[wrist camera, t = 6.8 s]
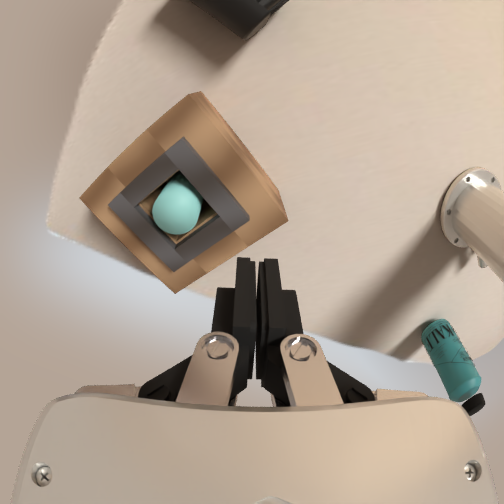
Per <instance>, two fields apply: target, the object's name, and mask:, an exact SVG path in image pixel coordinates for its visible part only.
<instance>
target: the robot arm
mask: <svg viewBox="0 0 504 504" xmlns="http://www.w3.org/2000/svg"><path fill="white" fill-rule="evenodd" d="M441 227H442V231H443V233H444V235H445V237H446V238H447V239H448V240H449V241H450V242H451V243H452V244H453V245H455V246H457V247H470V248H471V249H472V250H473V251H474V252H475V253H476V254H477V255H478V256H477V258H478V265H479V267H481V268H485V267H487V266H489V267H490V268H491V270H492V271H493V272H494V273H495V274H496V275H497V276H498V277H499V278H500V279H501V281H502V282H503V283H504V192H503V191H502V190H501V186H500V183H499V181H498V179H497V177H496V176H495V175H494V174H493V173H492V172H490V171H489V170H487V169H485V168H480V167H476V168H471V169H468V170H466V171H465V172H463V173H462V174H461V175H460V176H458V177H457V178H456V180H455V181H454V182H453V183H452V185H451V186H450V188H449V190H448V191H447V193H446V196H445V198H444V201H443V205H442V209H441ZM255 341H256V379H261V387H264V388H265V389H266V390H267V391H269V392H270V393H271V400H272V404H273V407H240V406H236V401H237V394H239V393H240V392H241V391H243V390H244V389H245V388H246V387H247V379H252V372H253V363H254V351H255ZM11 504H499V503H498V498H497V493H496V488H495V484H494V480H493V477H492V473H491V469H490V466H489V463H488V459H487V456H486V453H485V450H484V447H483V444H482V442H481V439H480V437H479V434H478V432H477V430H476V427H475V425H474V423H473V422H472V420H471V418H470V416H469V415H468V413H467V412H466V410H465V409H464V408H463V407H462V406H461V405H459V404H458V403H456V402H453V401H451V400H447V399H443V398H438V397H429V396H427V395H426V394H424V393H421V392H413V391H398V390H385V389H377V390H376V391H371V390H370V389H369V388H368V387H367V386H366V385H364V384H362V383H361V382H359V381H358V380H356V379H354V378H353V377H351V376H349V375H348V374H347V373H345V372H343V371H342V370H340V369H339V368H337V367H336V366H334V365H332V364H331V363H329V362H328V361H326V358H325V356H324V353H323V351H322V349H321V346H320V345H319V343H318V342H317V341H316V340H315V339H314V338H312V337H310V336H308V335H304V334H303V329H302V323H301V317H300V312H299V306H298V301H297V295H296V291H295V290H282V288H281V280H280V272H279V265H278V259H267V258H265V259H264V262H259V270H258V283H257V296H256V272H255V261H250V258H242V257H237V269H236V284H235V288H220V287H218V288H217V293H216V301H215V308H214V316H213V324H212V331H211V333H208V334H206V335H204V336H203V337H201V338H200V340H199V341H198V343H197V345H196V348H195V350H194V353H193V355H192V356H190V357H188V358H187V359H185V360H183V361H182V362H180V363H179V364H177V365H175V366H173V367H172V368H170V369H168V370H167V371H165V372H163V373H162V374H160V375H158V376H157V377H155V378H153V379H151V380H150V381H148V382H146V383H145V384H144V385H143V386H141V387H135V385H134V384H129V385H97V386H96V385H95V386H84V387H81V388H80V389H78V390H77V391H76V392H75V393H74V394H70V395H65V396H62V397H59V398H56V399H54V400H52V401H51V402H50V403H48V404H47V405H46V406H45V408H44V409H43V411H42V412H41V413H40V415H39V417H38V419H37V420H36V422H35V424H34V427H33V429H32V431H31V433H30V436H29V438H28V441H27V444H26V447H25V449H24V452H23V455H22V459H21V462H20V466H19V469H18V473H17V477H16V481H15V485H14V489H13V493H12V498H11Z"/></svg>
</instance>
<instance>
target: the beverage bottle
mask: <svg viewBox="0 0 504 504" xmlns="http://www.w3.org/2000/svg"><path fill="white" fill-rule="evenodd" d="M456 334H457V333H455V331H454V328H453V329H452V327H451V325H450V323H449V322H448V321H447V320H445V319H439V320H436V321H434V322H433V323H431V324H430V325H429V326H427V327H426V329H425V330H424V331H423V333H422V336H421V338H422V342H423V343H422V344H423V345H424V346H425V348H426V352H428V353H427V354H429V356H430V358H431V360H432V362H433V364H434V366H435V368H436V369H437V371H438V373H439V376H440V378H441V380H442V382H443V384H444V386H445V388H446V391H447V393H448V395H449V398H450V400H451V401H455V402H462V401H464V400H467V399H468V398H470V397H471V396H472V395H474V394H475V393H476V392H477V391H478V389H479V386H480V383H481V377H480V376H479V374H478V372H477V370H476V368H475V366H474V364H473V362H472V361H471V360H472V359H471V358H470V357H469V355H468V352H466V350H465V347H464V346H463V345H462V343H461V341H460V339H459V338H458V337H457V335H456ZM484 405H485V400H484V398H483V395H482V393H479V394H476V395H474V396H473V397H471V398H470V399H468V400H467V401H466V402H464V403H463V404H462V407H463V408H464V409H465V410H466V412H467V413H468V415H469V416H471V415H473V414H475V413H477V412H478V411H479V410H481V409H482V408H483V407H484Z"/></svg>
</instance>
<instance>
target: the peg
mask: <svg viewBox="0 0 504 504" xmlns="http://www.w3.org/2000/svg"><path fill="white" fill-rule="evenodd" d="M203 199H204V198H203V197H202V195H201V194H200V193H199V192H198V191H197V190H196V189H195V187H194V186H193V185H192V184H191V183H190V182H189V180H188V179H187V178H186V177H185V176H184V175H183V174H182V172H181V171H180V170H179V171H177V172H176V173H175V174H174V175H173V176H171V178H170V179H169V181H168V182H167V184H166V185H165V187H164V188H163V190H162V192H161V193H160V195H159V196H158V198H157V199H156V201H155V203H154V205H153V210H152V214H153V218H154V221H155V223H156V224H157V225H158V227H159V228H161V229H162V230H163V231H165V232H167V233H170V234H175V235H179V234H184V233H187V232H189V231H190V230H191V229H193V227H194V226H195V225H196V223H197V220H198V217H199V213H200V210H201V206H202V203H203Z"/></svg>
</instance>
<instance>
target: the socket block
mask: <svg viewBox="0 0 504 504" xmlns="http://www.w3.org/2000/svg"><path fill="white" fill-rule="evenodd" d="M179 170H180V171H181V172H182V174H183V175H184V176H185V177H186V178H187V179H188V180H189V182H190V183H191V184H192V185H193V186H194V187H195V189H196V190H197V191H198V192H199V193H200V194H201V195H202V197H203V198H204V199H203V203H202V206H201V210H200V213H199V217H198V220H197V223H196V225H195V226H194V227H193V229H191V230H190V231H189V232H187V233H184V234H179V235H175V234H170V233H167V232H165V231H163V230H162V229H161V228H159V227H158V225H157V224H156V223H155V221H154V218H153V214H152V210H153V205H154V203H155V201H156V199H157V198H158V196H159V195H160V193H161V192H162V190H163V188H164V187H165V185H166V184H167V183H166V181H167V180H168V179H169V178H170V177H171V176H173V175H174V174H175V173H176V172H177V171H179ZM80 199H81V200H82V201H83V203H84V204H85V205H86V206H87V207H88V208H89V209H90V210H91V211H92V212H93V213H94V214H95V216H96V217H97V218H98V219H99V220H100V221H101V222H102V223H103V224H104V225H105V226H106V227H107V228H108V229H109V230H110V231H111V232H112V233H113V234H114V235H115V236H116V237H117V238H118V239H119V240H120V241H121V242H122V243H123V244H124V245H125V246H126V247H127V248H128V249H129V250H130V251H131V252H132V253H133V254H134V255H135V256H136V257H137V258H138V259H139V260H140V261H141V262H142V263H143V264H144V265H145V266H146V267H147V268H148V269H149V270H150V271H151V272H152V273H153V274H154V275H155V276H156V277H157V278H159V279H160V280H161V281H162V282H163V283H164V284H165V285H166V286H167V287H168V288H169V289H171V290H172V291H173V292H174V293H175V294H176V293H177V292H179V291H180V290H182V289H183V288H185V287H186V286H188V285H190V284H191V283H193V282H194V281H196V280H197V279H199V278H200V277H202V276H203V275H205V274H207V273H208V272H210V271H211V270H213V269H214V268H216V267H217V266H219V265H220V264H222V263H224V262H225V261H227V260H228V259H230V258H231V257H233V256H234V255H236V254H238V253H239V252H241V251H242V250H244V249H245V248H247V247H248V246H250V245H252V244H253V243H255V242H256V241H258V240H259V239H261V238H262V237H264V236H266V235H267V234H269V233H270V232H272V231H273V230H275V229H276V228H278V227H280V226H281V225H283V224H284V223H286V222H287V221H288V218H287V215H286V212H285V209H284V206H283V203H282V200H281V197H280V194H279V191H278V189H277V188H276V186H275V185H274V183H273V182H272V181H271V179H270V178H269V177H268V175H267V174H266V173H265V171H264V170H263V169H262V167H261V166H260V165H259V163H258V162H257V161H256V160H255V158H254V157H253V156H252V154H251V153H250V152H249V150H248V149H247V148H246V147H245V145H244V144H243V143H242V141H241V140H240V139H239V138H238V136H237V135H236V134H235V132H234V131H233V130H232V129H231V127H230V126H229V125H228V124H227V122H226V121H225V120H224V119H223V117H222V116H221V115H220V114H219V112H218V111H217V110H216V109H215V108H214V106H213V105H212V104H211V103H210V101H209V100H208V99H207V98H206V97H205V95H204V94H203V93H202V92H201V91H200V92H196V93H192V94H188V95H187V96H186V97H185V98H183V99H182V100H181V101H180V102H178V103H177V104H176V105H175V106H173V107H172V108H171V109H170V110H169V111H167V112H166V113H165V114H164V115H163V116H162V117H160V118H159V119H158V120H157V121H156V122H155V123H154V124H152V125H151V126H150V127H149V128H148V129H147V130H146V131H145V132H143V133H142V134H141V135H140V136H139V137H138V138H137V139H136V140H135V141H134V142H133V143H132V144H131V145H130V146H128V147H127V148H126V149H125V150H124V151H123V152H122V153H121V154H120V155H119V156H118V157H117V158H116V159H115V160H114V161H113V162H112V163H111V164H110V165H109V166H108V167H107V168H106V169H105V170H104V172H103V173H102V174H101V175H100V176H99V177H98V178H97V179H96V180H95V181H94V182H93V183H92V184H91V185H90V187H89V188H88V189H87V190H86V191H85V192H84V193H83V194H82V195H81V197H80Z"/></svg>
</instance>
